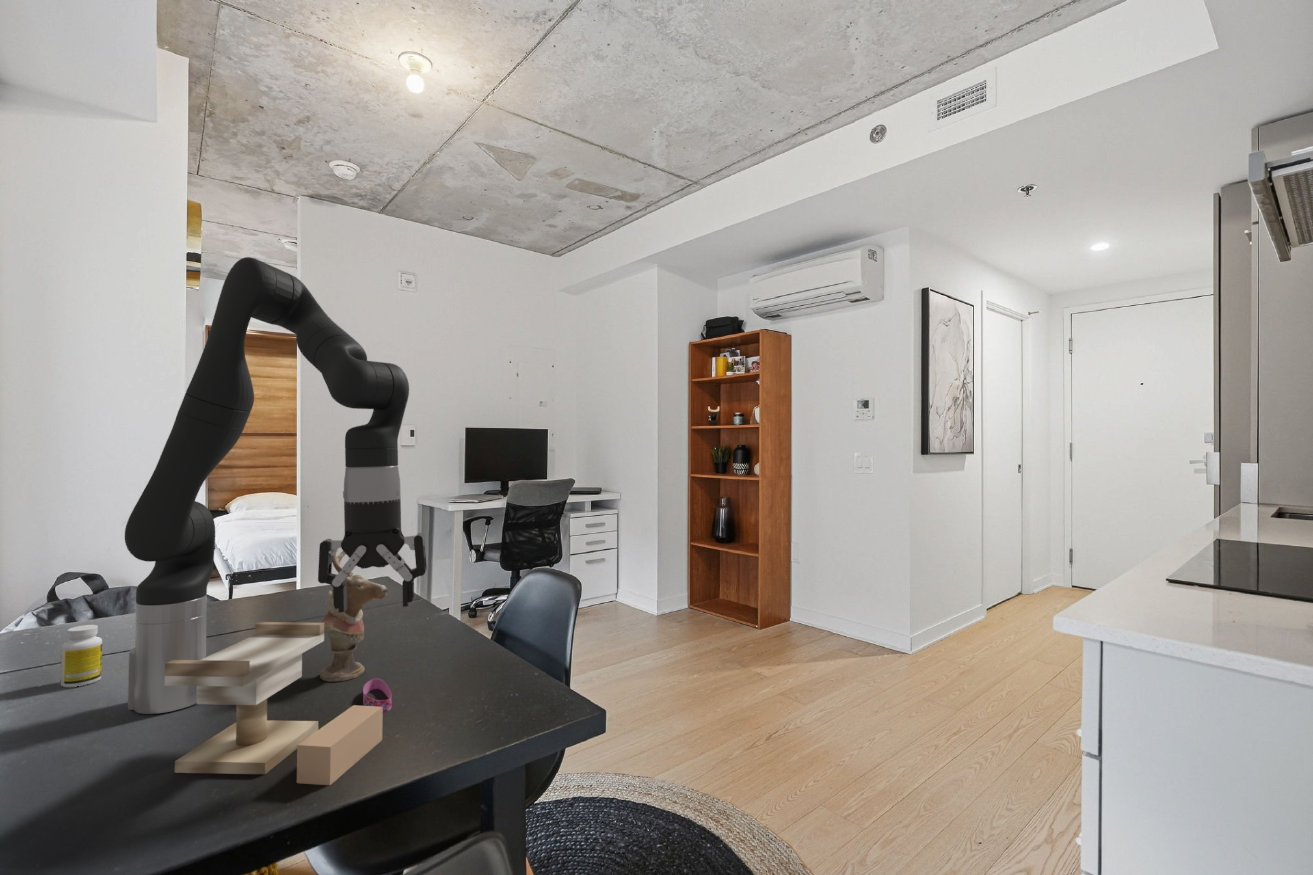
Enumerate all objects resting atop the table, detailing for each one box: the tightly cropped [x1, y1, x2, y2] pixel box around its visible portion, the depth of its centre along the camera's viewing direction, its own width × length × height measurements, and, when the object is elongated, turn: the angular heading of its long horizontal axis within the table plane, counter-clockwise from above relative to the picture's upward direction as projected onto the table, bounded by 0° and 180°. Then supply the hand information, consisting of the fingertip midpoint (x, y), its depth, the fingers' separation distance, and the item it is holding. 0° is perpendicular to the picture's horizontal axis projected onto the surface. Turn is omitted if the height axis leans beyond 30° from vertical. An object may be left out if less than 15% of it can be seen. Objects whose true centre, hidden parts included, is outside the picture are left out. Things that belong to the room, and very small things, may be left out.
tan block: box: [296, 704, 384, 786], centre depth 84 cm, size 4×12×5 cm, turn 174°
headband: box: [362, 678, 393, 713], centre depth 103 cm, size 11×4×2 cm, turn 35°
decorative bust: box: [319, 550, 389, 682], centre depth 115 cm, size 11×13×25 cm
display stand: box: [165, 621, 325, 775], centre depth 86 cm, size 12×18×15 cm, turn 179°
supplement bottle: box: [60, 624, 103, 688], centre depth 110 cm, size 5×5×10 cm
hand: (374, 608), depth 90 cm, fingers open, 8 cm apart
